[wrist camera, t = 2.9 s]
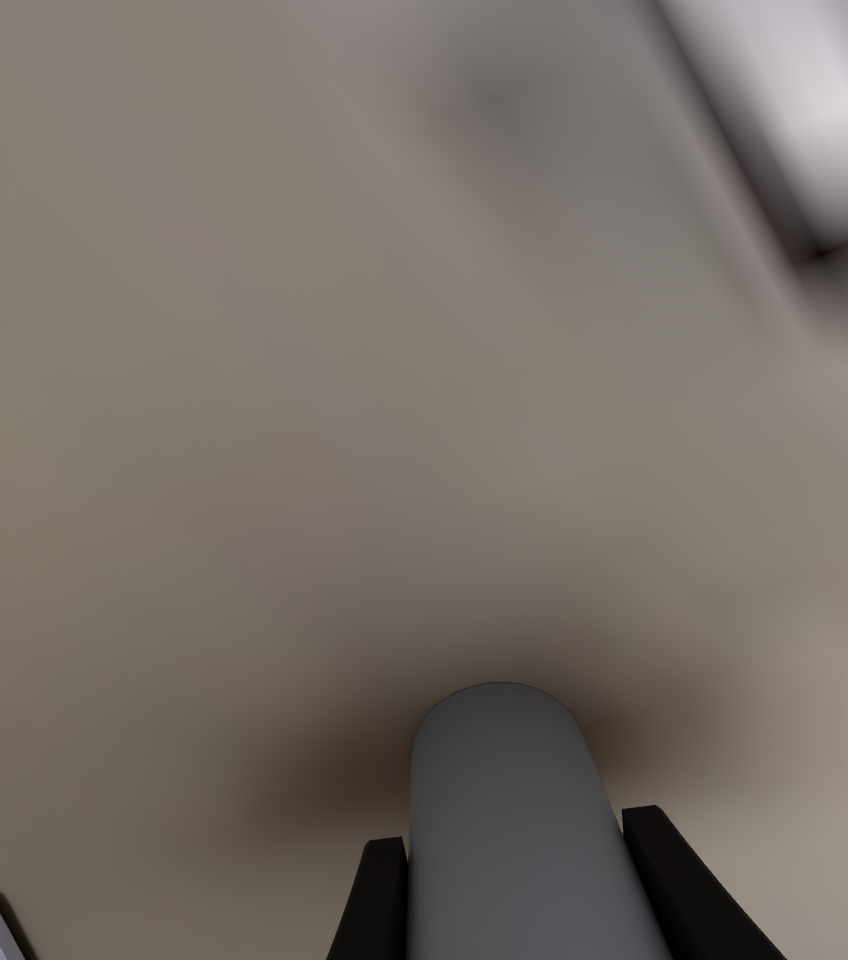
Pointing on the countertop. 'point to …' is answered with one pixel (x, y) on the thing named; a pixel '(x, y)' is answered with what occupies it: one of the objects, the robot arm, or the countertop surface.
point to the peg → (517, 839)
